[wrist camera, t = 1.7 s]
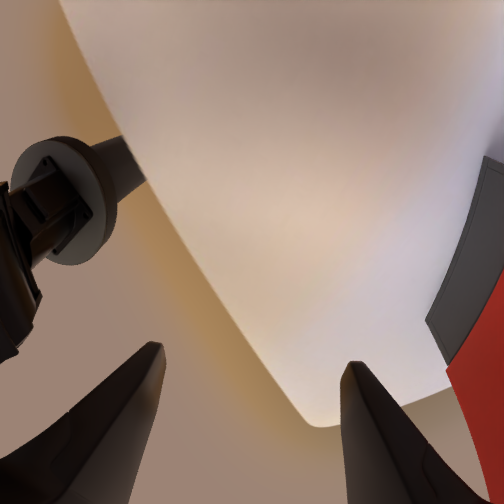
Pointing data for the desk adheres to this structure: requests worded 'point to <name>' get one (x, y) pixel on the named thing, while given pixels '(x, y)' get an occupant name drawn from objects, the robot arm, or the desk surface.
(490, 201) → the box
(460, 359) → the lid
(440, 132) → the desk surface
